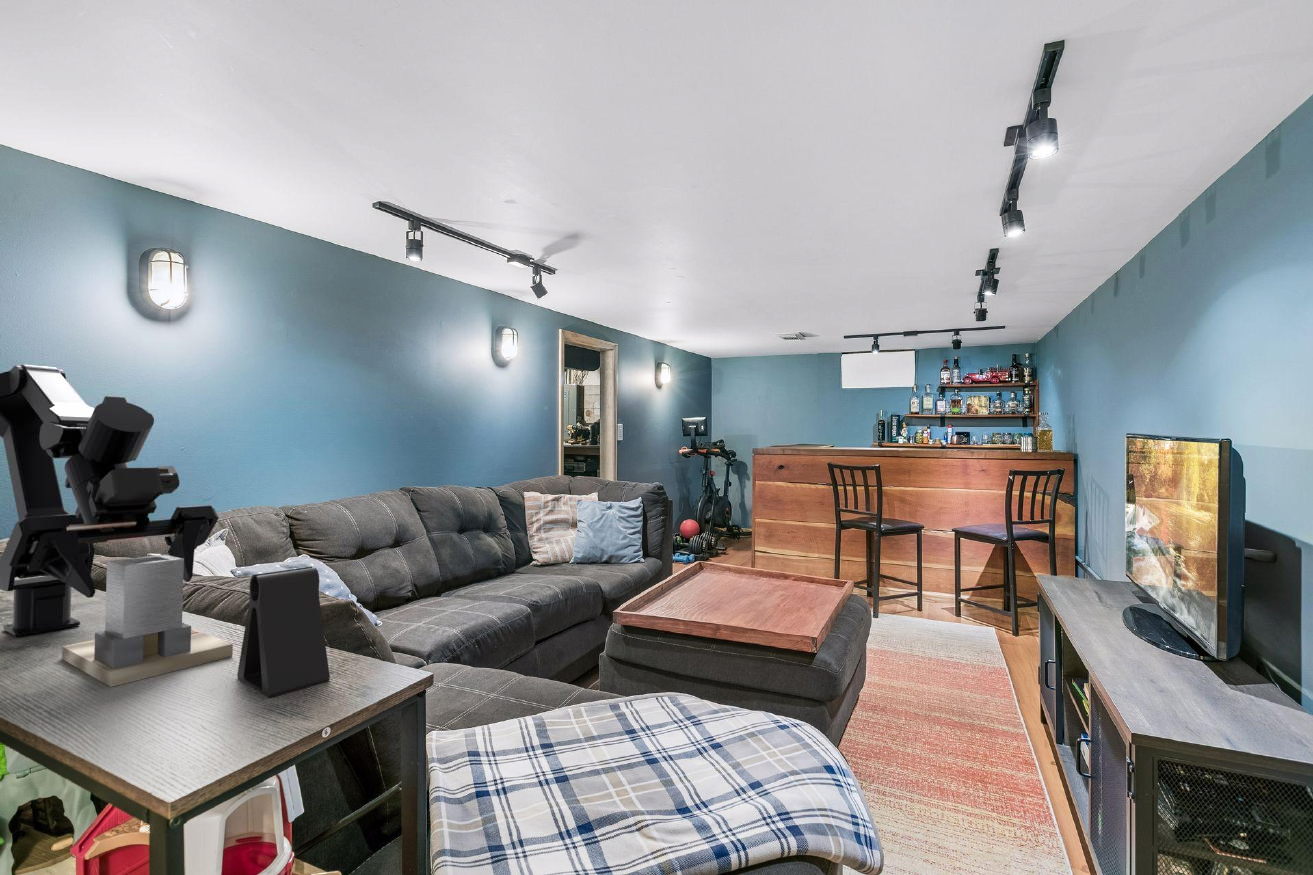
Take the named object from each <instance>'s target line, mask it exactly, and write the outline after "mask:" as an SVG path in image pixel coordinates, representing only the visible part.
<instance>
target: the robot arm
mask: <svg viewBox="0 0 1313 875" xmlns="http://www.w3.org/2000/svg"><path fill="white" fill-rule="evenodd" d="M154 424H155V418H154V415H153V414H152V413H149V412H148V411H147V410H145V409H144V408H142V407H140V406H138V405H136V404H134V403H130V402H127V399H126V397H125V396H109V395H106V396H104V398H103V400H102V403H99V404H97V405H96V406H95V407H91V406H89V405H87V403H86V401H84V399H83V398H82V397H81V396H80V395H79V393H77V390H75V389H74V388H73V386H72V385H71V384H70V383H69V382H68V380H67V378H66V373H65V371H64V370H63V369H58V367H56V366H55V367H53V366H42V365H32V364H21V365H14V366H12V368H11V369H10V370H8V371H3V372H0V437H1V438H2V440H3V445H4V448H5V450H4V451H5V455H6V460H7V466H8V471H9V475H10V482H11V486H12V491H13V492H12V493H13V496H14V497H13V498H14V503H15V507H16V512H17V517H18V520H17V521H16V522H15V524H14V527H13V529H12V532H11V535H10V536H9V539H8V541H6V546H5V548H4V549H3V552H2V554H1V556H0V590H1V591H3V592H13V604H12V605H13V607H12V608H13V610H12V624H6V625H3V628H2V629H3V630H4V631H5V632H7V633H9V634H10V635H13V636H14V637H23V636H28V635H32V634H38V633H43V632H44V633H45V632H49V631H54V630H60V629H66V628H71V627H77V626H78V627H79V626H80V625H81V621H79V620H77V619H75V618H73V617H72V616H71V615H72V614H71V613H72V589H74V590H75V591H77V592H78V593H80V594H81V595H83V596H85V597H86V598H88V599H90V598H93V597H94V596H95V594H96V587H95V584H94V580H93V578H92V568H93V564H94V557H95V554H96V550H97V548H96V547H95V546H94V544H99V543H117V542H125V541H135V540H137V541H139V540H145V539H146V540H147V539H157V538H164V542H165V543H166V545H167V546H168V547H169V549H168V551H167V553H168V555H169V556H173V557H178V558H182V559H184V568H183V582H185V583H189V582H191V580H192V578H193V577H194V576H193V574H194V562H195V561H194V559H195V550H197V548H198V547H201V546H202V545H204V544H205V543H206V541H207V540H208V538H209V536H210V534H211V533H212V531H213V529H214V527H215V525H216V524H217V523H218V521H219V519H220V518H219V516H218V514H217V511H216V510H215V507H213V506H212V505H210V504H208V505H207V504H206V505H205V504H204V505H203V504H200V505H191V506H189V505H188V506H177V507H176V508H175V510H174V512H173V514H172V515H171V516H170V517H171V518H169V519H160V520H159V519H158V520H150V518H149V514H154V513H155V512H156V509H157V507H158V506H157V503H156V502H155V500H156V499H158V498H159V497H160V496H163V495H165V494H166V495H167V494H169V495H170V494H172V493H173V492H175V491H176V490H177V489H178V488H179V487H180V478H179V474H178V472H177V470H176V469H175V467H174V465H157V466H156V467H128V466H127V463H130V462H134V461H136V460H137V459H138V457H139V455H140V453H141V451H142V449H143V446H144V444H145V443H146V440H147V438H148V436H149V435H150V432H151V430H152V429H153V426H154ZM54 459H67V461H66V462H65V464H64V467H63V468H64V472H65V475H66V478H65V480H64V481H65V482H64V486H65V488H66V489H71V491H72V494H73V497H74V499H75V502H76V504H77V507H76V510H75V512H74V513H71V514H70V512H67V511H66V510H65V507H64V503H63V498H62V494H61V489H60V485H59V481H58V475H57V470H56V466H55V462H54ZM16 578H18V579H16Z"/></svg>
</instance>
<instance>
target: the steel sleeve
mask: <svg viewBox="0 0 1313 875" xmlns="http://www.w3.org/2000/svg"><path fill="white" fill-rule="evenodd" d="M183 568H184V559H182V558H178V557H173V556H170V555H169V554H157V555H149V556H140V557H132V558H122V559H114V560H106V582H105V583H106V587H105V588H106V590H105V591H106V592H105V593H106V594H105V619H104V620H105V621H104V622H105V623H104V624H105V626H104V631H106V632H108V633H110V634H112V635H115V636H117V637H119V638H121V639H127V638H132V637H137V636H142V635H146V634H151V633H156V632H161V631H166V630H171V629H176V628H181V627H182V623H183V605H184V604H183V603H184V602H183V601H184V598H183V597H184V579H183Z"/></svg>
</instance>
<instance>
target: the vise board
mask: <svg viewBox="0 0 1313 875" xmlns="http://www.w3.org/2000/svg"><path fill="white" fill-rule="evenodd" d="M233 646H234V644H233V643H232V642H229V641H226V640H224V639H220V638H218V637H215V636H213V635H209V634H207V633H205V632H202V631H199V630H196V629H193V628H192V625H190V624H186V623H184V622H182V627H181V628H176V629H171V630H166V631H161V632H156V633H151V634H146V635H142V636H137V637H132V638H127V639H121V638H119V637H117V636H115V635H112V634H110V633H108V632H106V631H105V630H102V631H96V632H94V639H92V640H87V641H83V642H77V643H72V644H68V645H62V647H61V648H62V649H61V659H62V660H63V661H65V662H67V663H69V664H70V665H72V666H73V667H75V668H77V669H79V670H81V671H82V672H84V673H86V674H87V675H89V676H90V677H92V678H95V679H96V680H98V681H99V682H101V683H104V685H106V686H108V687H110V688H112V687H116V686H121V685H125V684H129V683H132V682H137V681H139V680H144V679H149V678H152V677H155V676H160V675H164V674H167V673H171V672H175V671H179V670H183V669H187V668H191V667H195V666H200V665H203V664H207V663H212V662H215V661H218V660H222V659H227V658H231V657H233V652H234V651H233V650H234V648H233Z"/></svg>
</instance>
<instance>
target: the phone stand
mask: <svg viewBox="0 0 1313 875" xmlns="http://www.w3.org/2000/svg"><path fill="white" fill-rule="evenodd" d="M247 608H248V609H247V615H246V622H245V627H244V632H243V638H242V642H241V643H242V645H241V651H240V657H239V663H238V666H237V677H236V678H237V679H238V680H240V681H241V682H243V683H244V684H246V685H247V686H249V687H251V688H252V689H254V690H255V691H257V692H258V693H259V694H262V695H263V696H264V697H266V698H268V699H270V698H274V697H277V696H280V695H284V694H287V693H290V692H294V691H298V690H301V689H304V688H308V687H311V686H314V685H318V684H322V683H325V682H328V681H329V682H330V679H331V676H330V669H329V668H330V667H329V663H328V654H327V647H326V639H325V631H324V623H323V615H322V610H321V601H320V575H319V571H318V569H317V567H313V566H306V567H300V568H292V569H286V570H284V569H283V570H278V571H271V572H264V573H257V574H252V575H251V577H250V581H249V601H248V607H247Z"/></svg>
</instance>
